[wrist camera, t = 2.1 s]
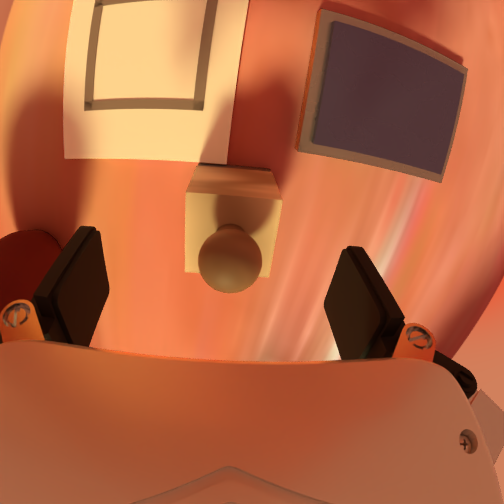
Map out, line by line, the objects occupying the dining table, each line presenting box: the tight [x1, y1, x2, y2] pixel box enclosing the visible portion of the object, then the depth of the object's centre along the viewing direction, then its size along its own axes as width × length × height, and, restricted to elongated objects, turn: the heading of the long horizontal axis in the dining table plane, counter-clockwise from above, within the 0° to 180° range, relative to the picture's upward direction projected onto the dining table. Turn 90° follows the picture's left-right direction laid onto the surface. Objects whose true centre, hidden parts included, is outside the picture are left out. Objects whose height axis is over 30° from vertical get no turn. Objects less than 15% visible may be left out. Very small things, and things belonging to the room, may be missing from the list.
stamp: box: [185, 163, 283, 293], centre depth 16 cm, size 4×4×9 cm
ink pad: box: [295, 9, 468, 183], centre depth 15 cm, size 11×9×2 cm
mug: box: [0, 230, 62, 313], centre depth 17 cm, size 11×8×10 cm
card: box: [63, 0, 249, 164], centre depth 13 cm, size 11×14×1 cm
